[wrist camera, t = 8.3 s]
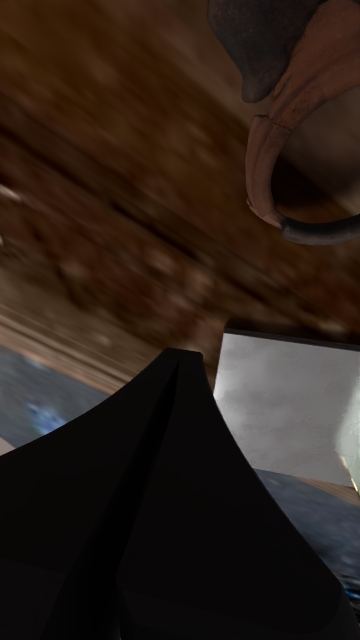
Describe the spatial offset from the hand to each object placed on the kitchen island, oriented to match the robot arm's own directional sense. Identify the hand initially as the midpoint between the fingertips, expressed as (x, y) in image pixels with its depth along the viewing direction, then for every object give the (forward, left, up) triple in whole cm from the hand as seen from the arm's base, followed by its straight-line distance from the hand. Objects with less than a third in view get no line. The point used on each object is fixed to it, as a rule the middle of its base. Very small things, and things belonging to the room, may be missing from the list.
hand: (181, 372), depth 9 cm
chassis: (-12, +10, -10) cm, 18 cm away
